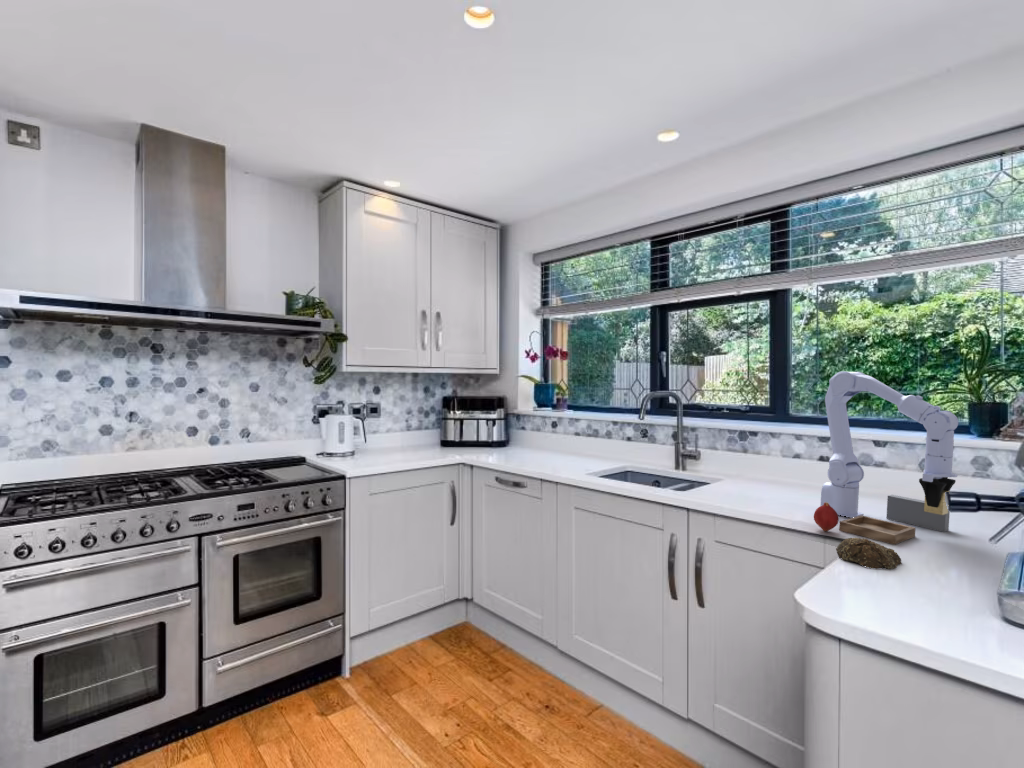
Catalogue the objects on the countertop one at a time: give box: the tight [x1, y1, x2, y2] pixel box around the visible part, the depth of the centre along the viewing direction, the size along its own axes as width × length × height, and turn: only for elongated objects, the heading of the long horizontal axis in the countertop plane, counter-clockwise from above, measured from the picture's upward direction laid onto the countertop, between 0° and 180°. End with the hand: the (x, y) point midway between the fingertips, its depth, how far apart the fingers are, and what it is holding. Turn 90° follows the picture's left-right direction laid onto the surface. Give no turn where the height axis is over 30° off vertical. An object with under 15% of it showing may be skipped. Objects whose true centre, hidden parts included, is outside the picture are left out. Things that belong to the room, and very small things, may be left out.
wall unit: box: [886, 494, 951, 533], centre depth 149 cm, size 14×3×7 cm, turn 33°
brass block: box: [924, 490, 950, 515], centre depth 138 cm, size 4×4×6 cm
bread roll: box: [835, 537, 903, 570], centre depth 119 cm, size 13×12×5 cm
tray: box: [838, 515, 916, 545], centre depth 139 cm, size 13×13×2 cm
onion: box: [813, 502, 840, 532], centre depth 140 cm, size 6×6×8 cm
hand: (935, 505), depth 138 cm, fingers closed on brass block, 4 cm apart
